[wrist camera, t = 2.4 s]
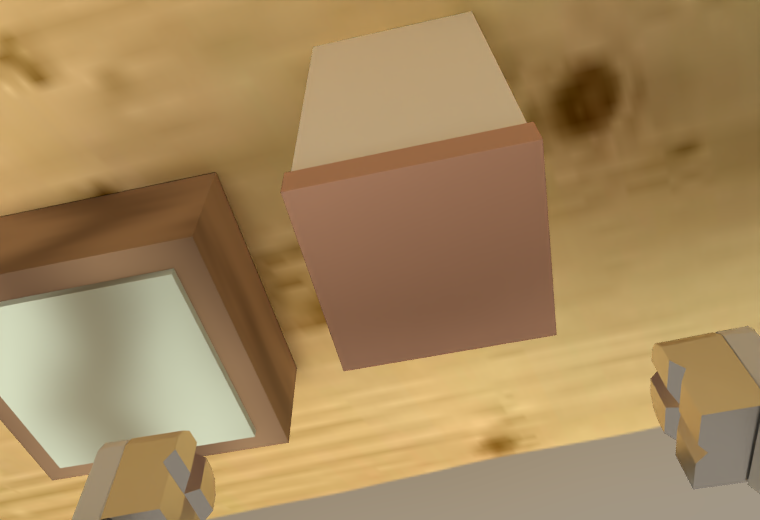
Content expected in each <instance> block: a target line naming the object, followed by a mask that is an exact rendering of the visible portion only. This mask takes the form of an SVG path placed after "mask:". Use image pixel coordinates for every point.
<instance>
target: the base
mask: <svg viewBox="0 0 760 520" xmlns="http://www.w3.org/2000/svg"><path fill="white" fill-rule="evenodd" d="M296 370H297V368H296V365H295V363H294V361H293V358H292V356H291V353H290V351H289V348H288V346H287V344H286V341H285V339H284V336H283V334H282V331H281V329H280V327H279V324H278V322H277V319H276V317H275V315H274V312H273V310H272V307H271V305H270V302H269V300H268V298H267V295H266V293H265V290H264V288H263V285H262V283H261V281H260V278H259V276H258V273H257V271H256V268H255V266H254V264H253V261H252V259H251V256H250V254H249V252H248V249H247V247H246V244H245V242H244V239H243V237H242V235H241V232H240V230H239V227H238V225H237V222H236V220H235V218H234V215H233V213H232V210H231V208H230V205H229V203H228V201H227V198H226V196H225V193H224V191H223V189H222V186H221V184H220V181H219V179H218V176H217V174H216V173H211V174H206V175H201V176H196V177H191V178H187V179H182V180H177V181H172V182H167V183H162V184H158V185H153V186H148V187H143V188H138V189H133V190H129V191H124V192H119V193H114V194H109V195H104V196H100V197H95V198H90V199H85V200H80V201H75V202H71V203H66V204H61V205H56V206H51V207H47V208H42V209H37V210H32V211H27V212H22V213H18V214H13V215H8V216H3V217H0V420H1V421H2V422H3V424H4V425H5V426H6V427H7V428H8V429H9V431H10V432H11V433H12V434H13V435H14V436H15V438H16V439H17V440H18V441H19V442H20V443H21V444H22V446H23V447H24V448H25V449H26V450H27V451H28V453H29V454H30V455H31V456H32V457H33V458H34V460H35V461H36V462H37V463H38V464H39V465H40V467H41V468H42V469H43V470H44V471H45V472H46V474H47V475H48V476H49V477H50V478H51V479H52V480H57V479H64V478H70V477H76V476H82V475H89V473H90V470H91V468H92V465H93V463H94V460H95V457H96V455H97V452H98V450H99V449H100V448H101V447H102V446H103V445H104V444H105V443H109V442H115V441H122V440H128V439H132V438H138V437H144V436H151V435H157V434H164V433H170V432H177V431H183V430H184V431H190V432H191V434H192V435H193V437H194V438H195V440H196V441H197V445H196V450H195V453H197V454H199V455H201V456H208V455H214V454H220V453H227V452H233V451H239V450H245V449H252V448H258V447H264V446H270V445H277V444H283V443H289V435H290V426H291V417H292V407H293V398H294V389H295V379H296Z"/></svg>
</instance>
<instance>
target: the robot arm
mask: <svg viewBox="0 0 760 520" xmlns="http://www.w3.org/2000/svg"><path fill="white" fill-rule="evenodd" d="M652 362H653V364H654V366H655V368H656V370H657V372H656V373H655V374H654V376H653V377H652V378H651V398H652V403H653V408H654V411H655V413H656V416H657V419H658V421H659V423H660V425H661V427H662V430H663V431H664V433H665V434H667V435H668V436H670V437H672V438H673V439H675V440H676V457H677V459H678V461H679V463H680V465H681V467H682V469H683V471H684V472H685V474H686V476H687V478H688V480H689V482H690V484H691V486H692V488H693V489H698V488H706V487H714V486H720V485H728V484H735V483H743V482H748V485H749V486H750V487H751V488H753V489H754V490H756V491H757V492H758V493H760V336H759V335H758V334H757V332H756V331H755V330H754V329H752V328H750V327H749V326H745V327H740V328H735V329H729V330H724V331H719V332H716V333H713V332H712V333H707V334H702V335H697V336H692V337H687V338H681V339H676V340H671V341H666V342H661V343H656V344H654V347H653V349H652ZM196 445H197V441H196V440H195V438H194V437H193V435H192V434H191V432H190V431H184V430H183V431H177V432H170V433H164V434H157V435H151V436H144V437H138V438H132V439H128V440H122V441H115V442H109V443H105V444H104V445H103V446H102V447H101V448H100V449H99V450H98V452H97V455H96V457H95V460H94V463H93V465H92V468H91V470H90V473H89V476H88V478H87V481H86V483H85V486H84V489H83V491H82V494H81V496H80V499H79V502H78V504H77V507H76V510H75V512H74V515H73V517H72V520H206V518H207V517H208V516H209V515H210V513H211V512H212V511H213V508H214V502H215V496H216V493H215V478H214V474H213V471H212V468H211V465H210V464H209V462H208V460H207V458H205V457H203V456H201V455H199V454H197V453H195V450H196Z"/></svg>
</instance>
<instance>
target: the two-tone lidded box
mask: <svg viewBox="0 0 760 520" xmlns="http://www.w3.org/2000/svg"><path fill="white" fill-rule="evenodd" d="M281 195H282V198H283V200H284V203H285V206H286V209H287V212H288V215H289V217H290V220H291V223H292V226H293V229H294V232H295V234H296V237H297V240H298V243H299V246H300V249H301V251H302V254H303V257H304V260H305V263H306V266H307V268H308V271H309V274H310V277H311V280H312V283H313V285H314V288H315V291H316V294H317V297H318V300H319V302H320V305H321V308H322V311H323V314H324V317H325V319H326V322H327V325H328V328H329V331H330V334H331V336H332V339H333V342H334V345H335V348H336V351H337V353H338V356H339V359H340V362H341V365H342V368H343V370H344V371H348V370H354V369H360V368H366V367H371V366H377V365H383V364H389V363H395V362H401V361H407V360H412V359H418V358H424V357H430V356H436V355H442V354H448V353H453V352H459V351H465V350H471V349H477V348H483V347H489V346H494V345H500V344H506V343H512V342H518V341H524V340H530V339H535V338H541V337H547V336H553V335H557V334H556V320H555V306H554V292H553V277H552V263H551V249H550V235H549V221H548V206H547V192H546V178H545V164H544V149H543V139H542V137H541V135H540V133H539V131H538V129H537V127H536V125H535V123H534V122H529V123H527V122H526V120H525V118H524V116H523V114H522V112H521V110H520V108H519V106H518V104H517V102H516V100H515V98H514V96H513V94H512V92H511V90H510V88H509V86H508V84H507V82H506V80H505V78H504V76H503V74H502V72H501V70H500V67H499V65H498V63H497V61H496V59H495V57H494V55H493V53H492V51H491V49H490V47H489V45H488V43H487V41H486V39H485V37H484V35H483V33H482V31H481V29H480V27H479V25H478V23H477V21H476V19H475V17H474V15H473V13H472V11H470V12H466V13H461V14H457V15H452V16H448V17H443V18H439V19H434V20H430V21H426V22H421V23H417V24H412V25H408V26H403V27H399V28H394V29H390V30H386V31H381V32H377V33H372V34H368V35H363V36H359V37H355V38H350V39H346V40H341V41H337V42H332V43H328V44H323V45H319V46H315V47H313V50H312V56H311V61H310V67H309V73H308V78H307V84H306V90H305V95H304V101H303V107H302V113H301V118H300V124H299V130H298V135H297V141H296V147H295V152H294V158H293V164H292V169H291V172H286V173H284V177H283V182H282V188H281Z"/></svg>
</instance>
